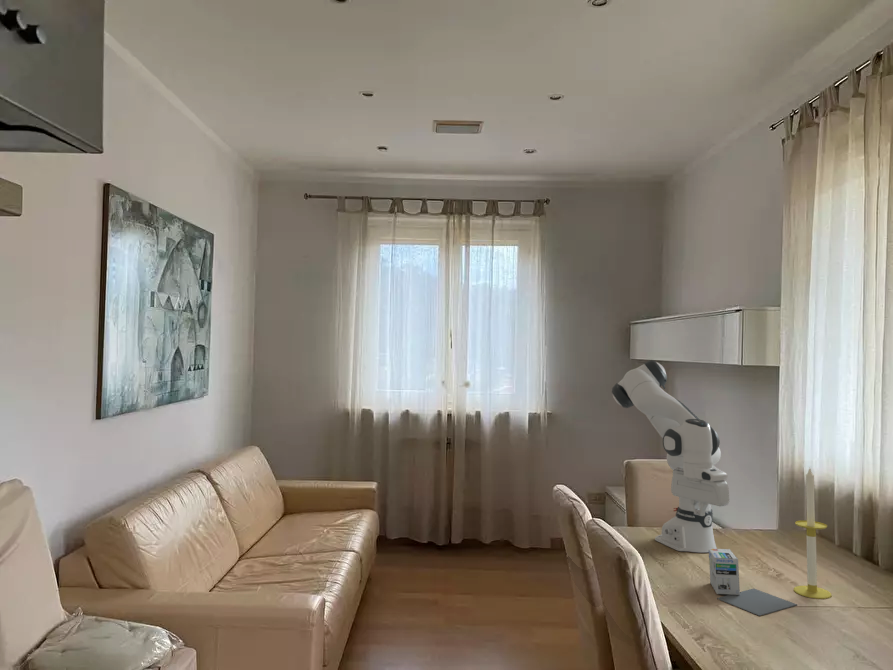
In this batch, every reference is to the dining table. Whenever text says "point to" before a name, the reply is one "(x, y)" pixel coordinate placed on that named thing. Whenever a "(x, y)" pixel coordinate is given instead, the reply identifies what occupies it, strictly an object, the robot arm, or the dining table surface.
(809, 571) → the candle
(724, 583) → the light bulb box
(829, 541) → the dining table surface
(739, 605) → the mat
